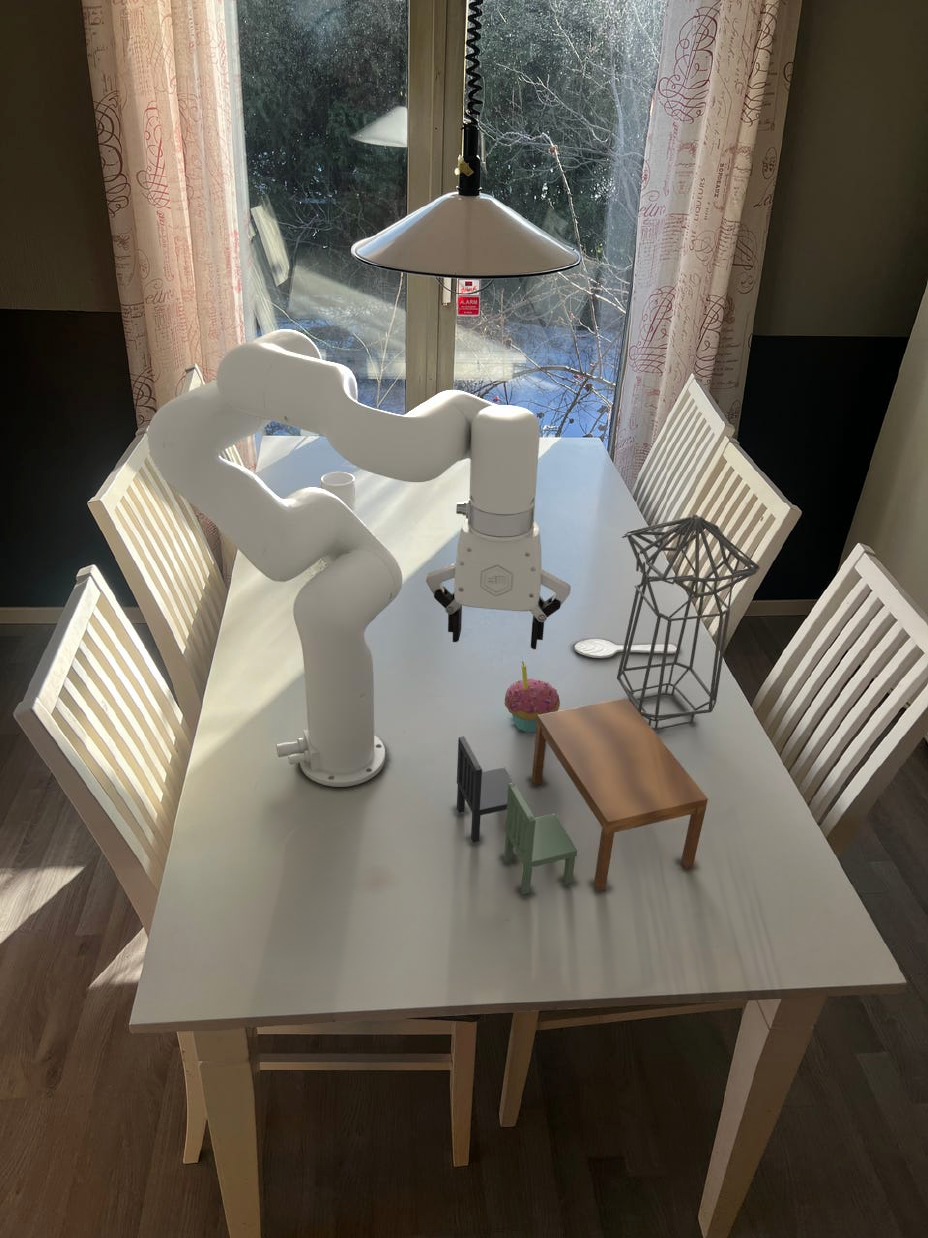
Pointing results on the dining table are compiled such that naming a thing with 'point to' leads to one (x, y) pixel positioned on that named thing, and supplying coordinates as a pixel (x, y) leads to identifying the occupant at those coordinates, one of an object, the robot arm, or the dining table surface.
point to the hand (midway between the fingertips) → (495, 639)
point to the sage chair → (535, 839)
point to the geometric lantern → (684, 529)
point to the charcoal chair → (479, 787)
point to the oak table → (620, 773)
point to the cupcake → (530, 701)
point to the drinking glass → (340, 487)
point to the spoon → (615, 648)
